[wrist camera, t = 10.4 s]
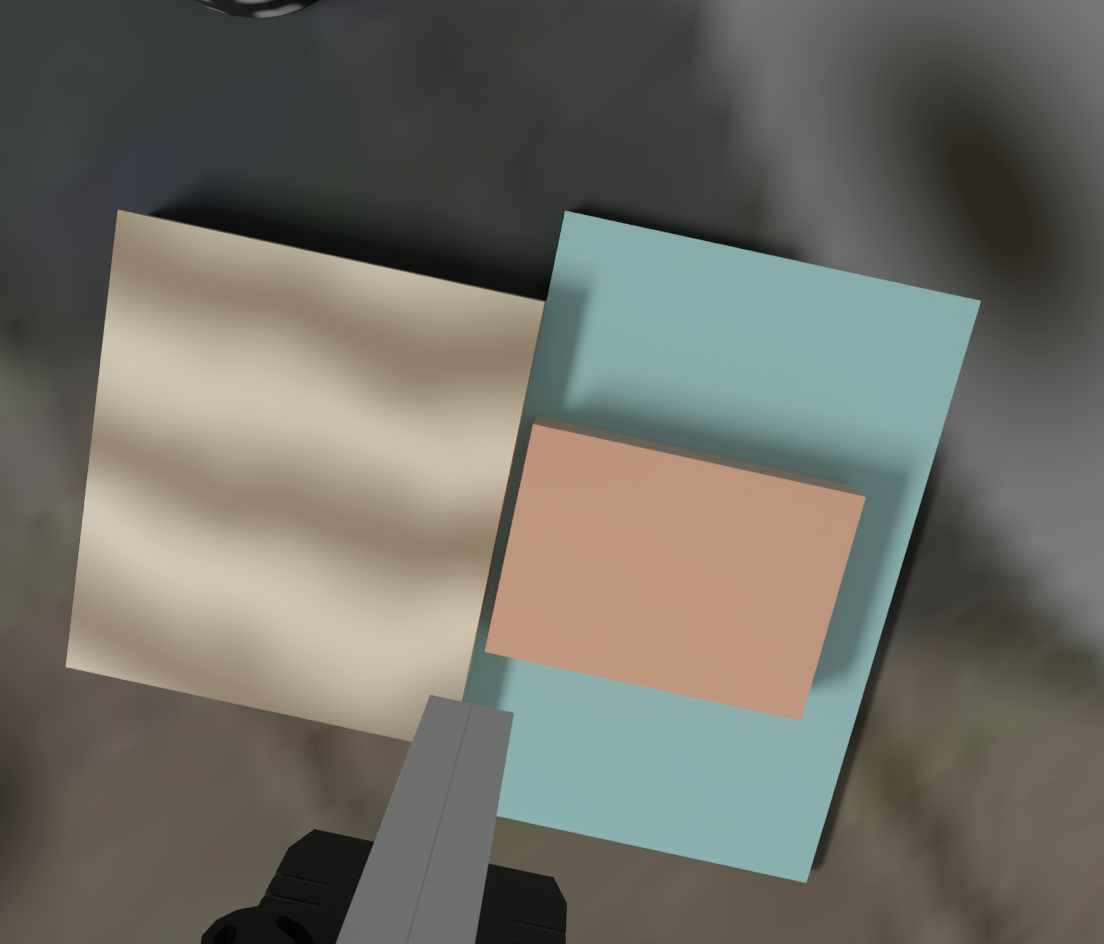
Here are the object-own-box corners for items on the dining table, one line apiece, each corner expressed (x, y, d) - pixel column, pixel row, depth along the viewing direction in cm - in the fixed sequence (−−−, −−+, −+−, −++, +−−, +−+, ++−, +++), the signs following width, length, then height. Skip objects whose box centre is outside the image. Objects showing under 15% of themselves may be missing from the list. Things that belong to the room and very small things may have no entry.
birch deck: (146, 214, 32) (117, 209, 30) (547, 301, 32) (544, 302, 30) (95, 645, 35) (66, 666, 33) (459, 724, 35) (451, 750, 33)
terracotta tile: (536, 415, 32) (532, 423, 30) (849, 483, 32) (865, 496, 30) (490, 630, 34) (484, 651, 32) (788, 695, 34) (800, 720, 32)
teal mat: (565, 211, 31) (565, 210, 31) (973, 300, 31) (980, 300, 31) (444, 795, 36) (442, 804, 35) (802, 873, 36) (806, 882, 35)
